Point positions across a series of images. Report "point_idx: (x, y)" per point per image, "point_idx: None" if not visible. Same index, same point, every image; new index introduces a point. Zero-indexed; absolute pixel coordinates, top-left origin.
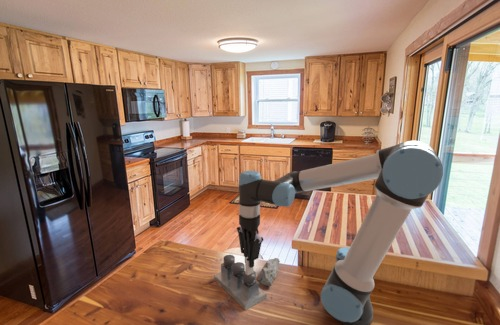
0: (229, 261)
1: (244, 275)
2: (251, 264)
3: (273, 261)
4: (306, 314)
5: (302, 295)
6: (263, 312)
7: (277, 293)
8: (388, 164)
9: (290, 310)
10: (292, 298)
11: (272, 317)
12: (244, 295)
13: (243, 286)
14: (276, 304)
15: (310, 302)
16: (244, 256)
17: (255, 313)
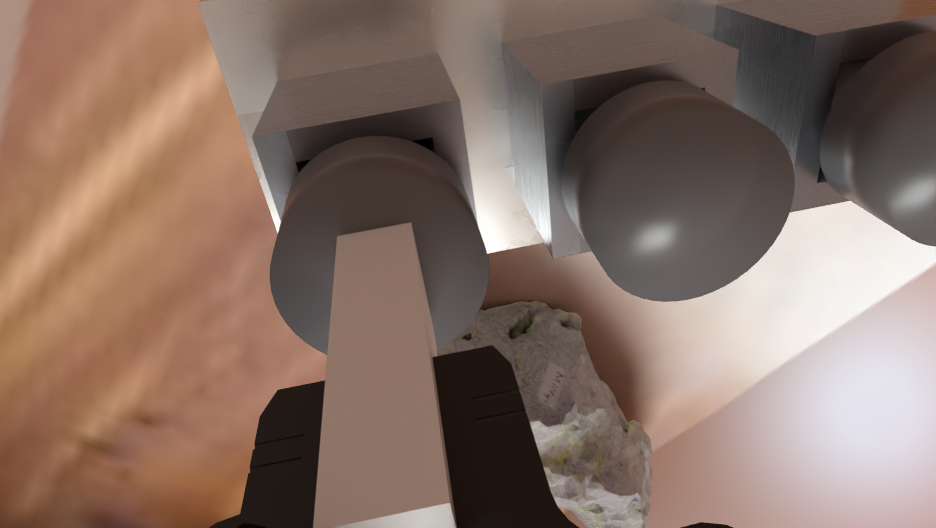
0: (911, 122)
1: (378, 188)
2: (257, 475)
3: (605, 521)
4: (6, 438)
5: (222, 493)
6: (123, 155)
7: (320, 363)
8: None
9: (83, 364)
10: (217, 429)
11: (31, 200)
12: (356, 71)
13: (377, 100)
14: (192, 302)
15: (130, 505)
16: (517, 511)
17: (132, 74)
